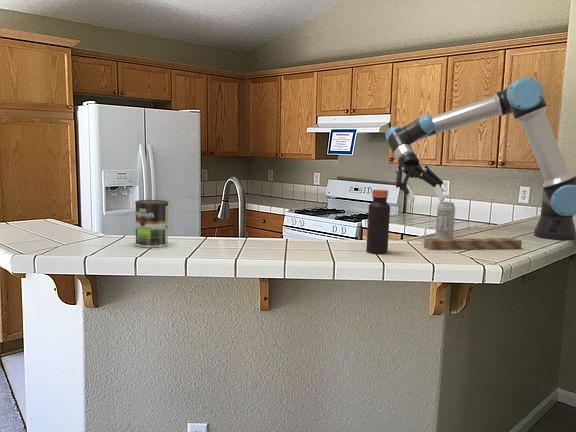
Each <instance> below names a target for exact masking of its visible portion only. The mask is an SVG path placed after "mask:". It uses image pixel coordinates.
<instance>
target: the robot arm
mask: <svg viewBox="0 0 576 432" xmlns="http://www.w3.org/2000/svg"><path fill="white" fill-rule="evenodd" d="M547 108H548V105H547V103H546V100H545V98H544V88H543V86H542V84H541V83H540V81H539V80H537V79H536V78H533V77H520V78H517V79H516V80H514V81H512V82H511V84H510V85H508V87H506V88H504V89H502V90H500V91H497V92H495V93H494V94H493V96H491V97H488V98H484V99H480V100H478V101H476V102H472V103H469V104H466V105H463V106H460V107H458V108H454V109H451V110H449V111H446V112H442V113H439V114H436V115H433V116H430V114H429V113H425V114H423V115H421V116H419V117H417V118H416V119H415V120H413V121H411V122H410V123H408V124H407V125H405V126H403V127H401V126H399V125H395V126H391V127H389V128H388V129H387V130H386V131H385V135H384V136H385V139H386V141H387V145H388V146H389V148H390V150H391V151H392V154H393V156H394V158H395V160H396V162H397V163H398V166H397V168H395V172H396V179H395V187H396V188H398V189H399V190H400V191H403V193H404V195H406V197H407V199H408V202H409V203H411V204H412V203H413V202H414V201H415V199H416V197H415V195H414V193H413V191H412V189H411V187H410V184H407V183H408V181H409V179H410V178H411V179H413V178H414V179H415V178H416V179H417V178H418V179H420V180H422V181H424V182H425V183H427V184H429V185H430V186H431V187H433V190H434V192H435V195H436V196H437V198H438V199H439V203H440V202H444V200H445V199H446V198H447V197H446V195H445V193H444V189H443V188H442V186H443V184H444V181H443V179H441V178H440V177H439V176H438V175H436V174H435V173H434V172H433V171H432V170H431V169H430V167H429V166H428V165H425V166H423V167H422V166H421V165H420V160H419V158H418V157H417V154H416V152H415V150H414V149H413V147H412V146H411V145H412V144H414V143H415V142H417V141H419V140H422V139H427V138H428V137H431V136H434V135H437V134H440V133H443V132H446V131H450V130H453V129H457V128H459V127H463V126H465V125H469V124H472V123H475V122H478V121H482V120H485V119H488V118H491V117H494V116H502V117H503V116H506V115H510V114H512V115H513V118H514V120H515V121H516V122H520V124H521V126H522V128H523V130H524V133H525V135H526V137H527V140H528V143H529V145H530V148H531V150H532V152H533V156H534V158H535V161H536V162H537V165H538V167H539V170H540V172H541V175H542V177H543V180H544V182H543V184H542V197H541V198H542V199H541V207H540V208H541V209H540V216H539V219H538V221H537V224H536V225H535V226H536V227H535V228H534V230H533V231H534V232H533V235H534V236H536V237H539V238H543V239H549V240H561V241H562V240H563V241H565V240H566V241H573V240H576V228H575V224H574V223H575V222H574V216H575V215H576V174H574V173H572V172H570V171H569V169H568V166H567V163H566V161H565V158H564V157H563V154H562V152H561V149H560V146H559V143H558V142H557V139H556V137H555V134H554V132H553V130H552V127H551V124H550V121H549V119H548V117H547V115H546V110H547ZM403 173H404V174H405V177H404V178H403Z"/></svg>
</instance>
